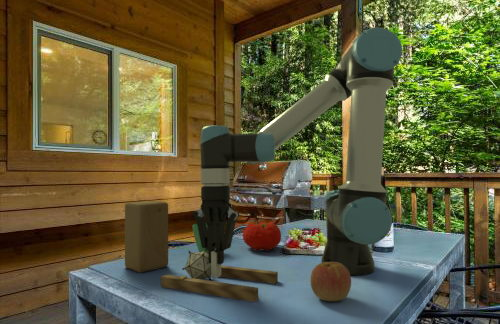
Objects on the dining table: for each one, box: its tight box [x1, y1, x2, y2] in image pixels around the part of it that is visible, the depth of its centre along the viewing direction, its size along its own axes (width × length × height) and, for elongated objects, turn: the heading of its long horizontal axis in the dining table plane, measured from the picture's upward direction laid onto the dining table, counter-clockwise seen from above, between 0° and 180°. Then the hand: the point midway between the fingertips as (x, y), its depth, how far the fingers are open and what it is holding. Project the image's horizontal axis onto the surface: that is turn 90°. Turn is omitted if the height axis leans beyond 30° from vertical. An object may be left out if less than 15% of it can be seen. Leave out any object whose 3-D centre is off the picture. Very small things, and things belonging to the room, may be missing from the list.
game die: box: [181, 249, 212, 281], centre depth 87 cm, size 9×8×10 cm
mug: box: [192, 223, 209, 255], centre depth 121 cm, size 15×10×10 cm
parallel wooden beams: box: [160, 264, 279, 303], centre depth 85 cm, size 26×18×4 cm
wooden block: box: [124, 200, 169, 274], centre depth 101 cm, size 10×10×20 cm
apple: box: [310, 262, 352, 302], centre depth 73 cm, size 9×9×8 cm
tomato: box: [242, 221, 282, 252], centre depth 124 cm, size 14×16×10 cm
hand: (216, 276), depth 85 cm, fingers closed
